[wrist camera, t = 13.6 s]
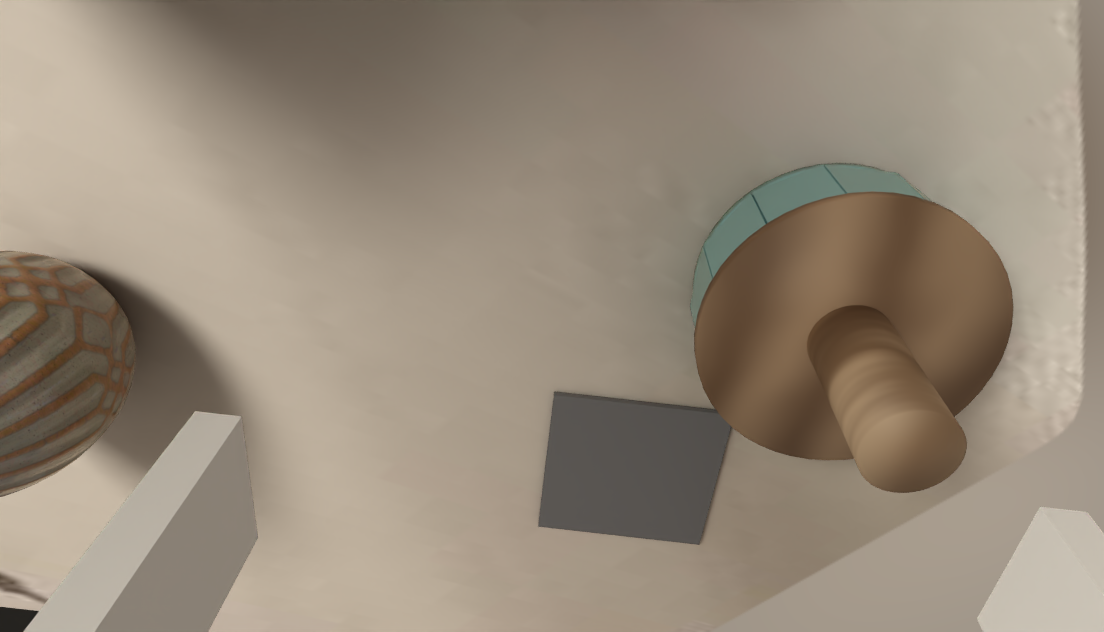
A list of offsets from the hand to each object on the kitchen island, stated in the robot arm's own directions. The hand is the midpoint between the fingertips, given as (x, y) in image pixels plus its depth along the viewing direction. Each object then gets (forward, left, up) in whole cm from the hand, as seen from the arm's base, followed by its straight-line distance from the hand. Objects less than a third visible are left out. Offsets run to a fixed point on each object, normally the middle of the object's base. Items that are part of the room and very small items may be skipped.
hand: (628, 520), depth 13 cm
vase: (-33, -18, -32) cm, 49 cm away
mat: (+5, -26, -32) cm, 41 cm away
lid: (+14, -10, -26) cm, 31 cm away
